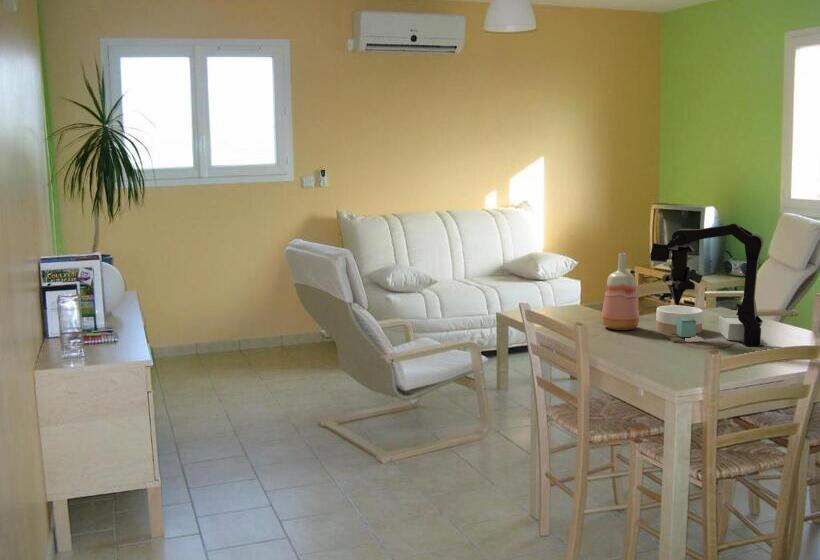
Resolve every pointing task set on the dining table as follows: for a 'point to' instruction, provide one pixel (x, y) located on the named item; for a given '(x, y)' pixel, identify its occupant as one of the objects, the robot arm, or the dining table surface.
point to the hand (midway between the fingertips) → (676, 304)
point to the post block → (677, 338)
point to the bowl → (669, 315)
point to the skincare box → (731, 328)
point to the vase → (620, 299)
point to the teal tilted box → (686, 327)
